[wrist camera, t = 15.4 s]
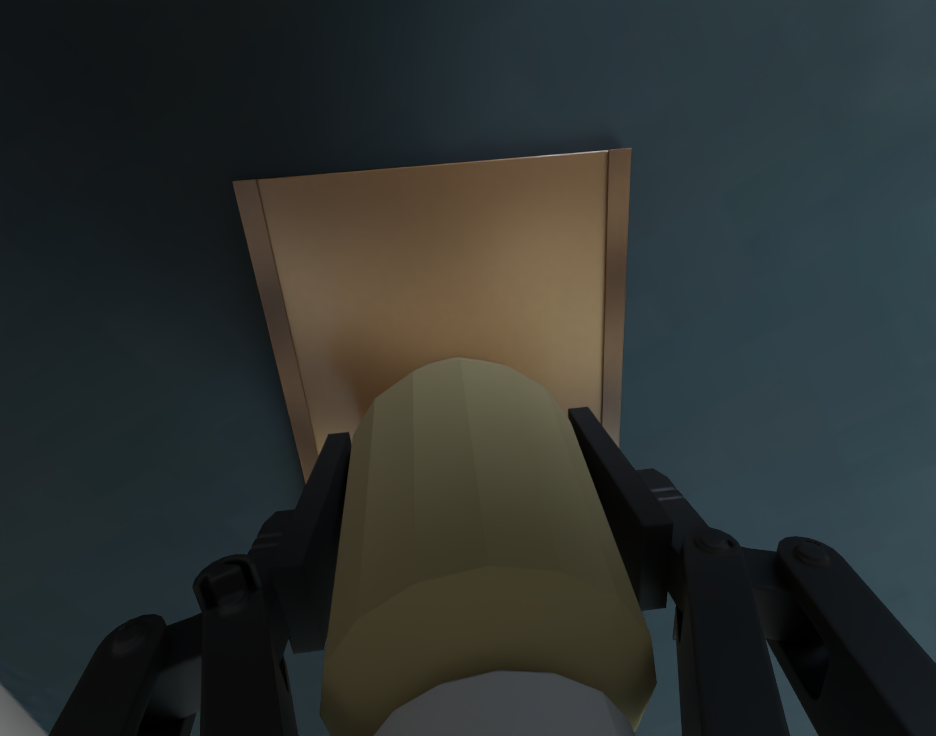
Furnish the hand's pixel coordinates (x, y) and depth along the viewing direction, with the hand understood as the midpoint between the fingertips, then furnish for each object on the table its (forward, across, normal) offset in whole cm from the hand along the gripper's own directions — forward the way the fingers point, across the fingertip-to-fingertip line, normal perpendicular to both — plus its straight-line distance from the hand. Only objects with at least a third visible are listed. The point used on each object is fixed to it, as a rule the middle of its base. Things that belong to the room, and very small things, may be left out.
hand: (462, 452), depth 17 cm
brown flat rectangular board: (+3, 0, 0) cm, 3 cm away
